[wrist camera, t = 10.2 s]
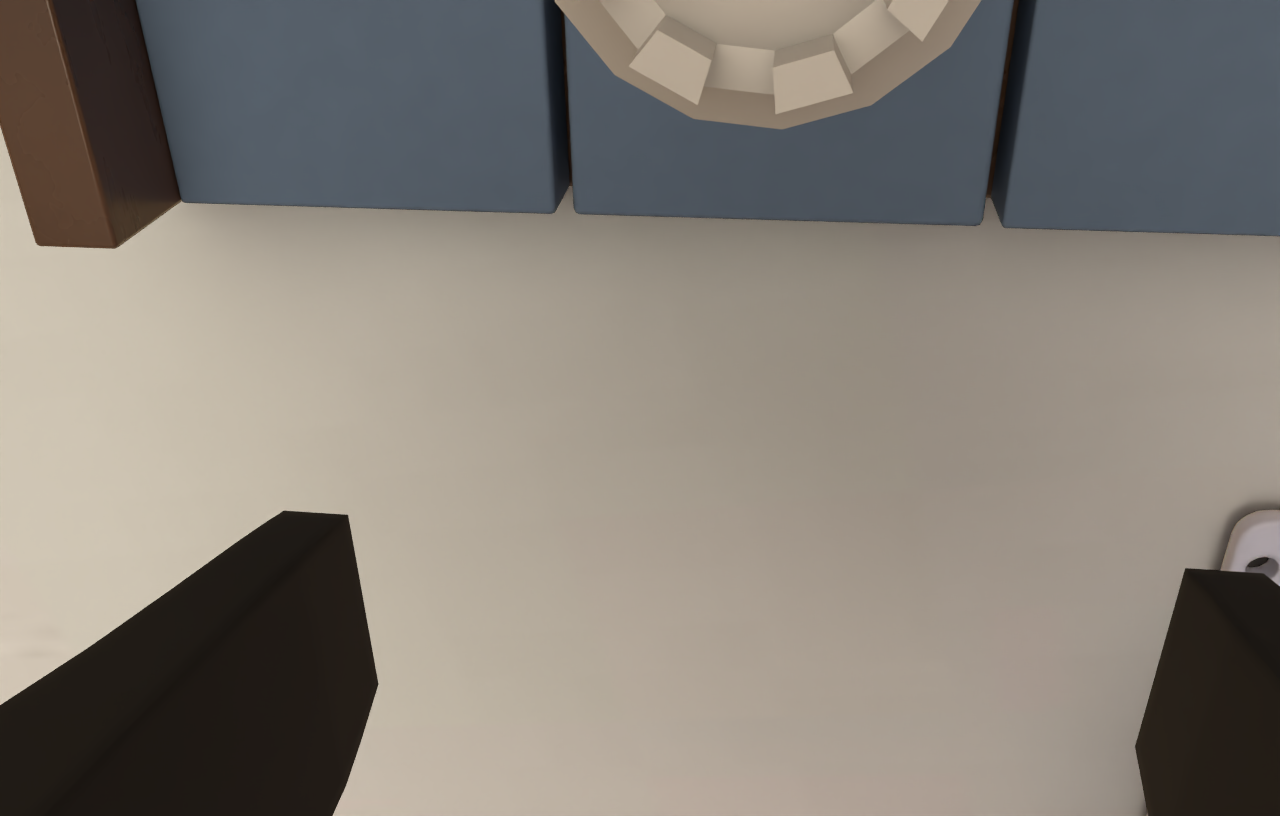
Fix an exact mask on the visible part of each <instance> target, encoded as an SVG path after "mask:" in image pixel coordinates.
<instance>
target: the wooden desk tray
mask: <svg viewBox="0 0 1280 816" xmlns="http://www.w3.org/2000/svg"><path fill="white" fill-rule="evenodd" d="M0 126H1V130H2V133H3V136H4V139H5V143H6V146H7V149H8V153H9V156H10V159H11V163H12V166H13V169H14V172H15V176H16V179H17V182H18V186H19V189H20V192H21V195H22V199H23V202H24V205H25V209H26V212H27V215H28V219H29V222H30V225H31V228H32V232H33V235H34V238H35V242H36V243H37V245H39V246H56V247H84V248H112V249H115V248H117V247H119V246H120V245H122V244H123V243H124V242H126V241H127V240H129V239H130V238H131V237H133V236H134V235H135V234H137V233H138V232H140V231H141V230H142V229H144V228H145V227H146V226H148V225H149V224H151V223H152V222H153V221H155V220H156V219H158V218H159V217H160V216H162V215H163V214H164V213H166V212H167V211H169V210H170V209H171V208H173V207H174V206H175V205H177V204H178V203H180V202H181V201H183V202H185V203H207V204H240V205H274V206H307V207H340V208H374V209H407V210H441V211H474V212H507V213H541V214H552V213H555V211H556V209H557V208H558V206H559V204H560V202H561V200H562V199H563V197H564V195H565V193H566V191H567V189H568V187H569V186H573V204H574V209H575V211H576V213H578V214H589V215H623V216H656V217H690V218H723V219H757V220H790V221H824V222H857V223H891V224H924V225H958V226H977V225H980V223H981V222H982V220H983V215H984V208H985V200H986V197H988V198H991V199H992V201H993V204H994V207H995V209H996V212H997V214H998V217H999V219H1000V222H1001V224H1002V227H1004V228H1023V229H1057V230H1090V231H1123V232H1157V233H1190V234H1223V235H1257V236H1280V0H981V2H980V3H979V5H978V6H977V8H976V9H975V11H974V12H973V14H972V15H971V17H970V18H969V20H968V21H967V23H966V24H965V26H964V27H963V29H962V30H961V32H960V34H959V35H958V37H957V38H956V40H955V41H954V43H953V44H952V46H951V47H950V48H949V49H947V50H946V51H945V52H943V53H942V54H940V55H939V56H938V57H936V58H935V59H934V60H932V61H931V62H930V63H928V64H927V65H925V66H924V67H923V68H921V69H920V70H919V71H917V72H916V73H915V74H913V75H912V76H910V77H909V78H908V79H906V80H905V81H904V82H902V83H901V84H900V85H898V86H897V87H895V88H894V89H893V90H891V91H890V92H889V93H887V94H886V95H885V96H883V97H882V98H881V99H879V100H878V101H876V102H875V103H874V104H872V105H871V106H867V107H863V108H860V109H856V110H852V111H848V112H845V113H841V114H837V115H834V116H830V117H826V118H823V119H819V120H815V121H812V122H808V123H804V124H800V125H797V126H793V127H789V128H786V129H774V128H765V127H757V126H749V125H740V124H732V123H724V122H715V121H707V120H699V119H693V118H691V117H689V116H687V115H685V114H684V113H682V112H680V111H678V110H676V109H675V108H673V107H671V106H669V105H668V104H666V103H664V102H662V101H660V100H659V99H657V98H655V97H653V96H651V95H650V94H648V93H646V92H644V91H642V90H641V89H639V88H637V87H635V86H633V85H632V84H630V83H628V82H626V81H624V80H623V79H621V78H619V77H617V76H615V75H614V74H613V72H612V71H611V70H610V69H609V68H608V66H607V65H606V64H605V63H604V61H603V60H602V59H601V58H600V57H599V55H598V54H597V53H596V52H595V50H594V49H593V48H592V47H591V45H590V44H589V43H588V42H587V41H586V39H585V38H584V37H583V36H582V34H581V33H580V32H579V31H578V30H577V28H576V27H575V26H574V25H573V23H572V22H571V21H570V20H569V19H568V17H567V16H566V15H565V14H564V12H563V11H562V10H561V9H560V7H559V6H558V5H557V4H556V3H555V1H554V0H0Z"/></svg>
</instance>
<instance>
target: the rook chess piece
mask: <svg viewBox="0 0 1280 816" xmlns="http://www.w3.org/2000/svg"><path fill="white" fill-rule="evenodd" d="M554 1H555V3H556V4H557V5H558V6H559V7H560V9H561V10H562V11H563V12H564V14H565V15H566V16H567V17H568V19H569V20H570V21H571V22H572V23H573V25H574V26H575V27H576V28H577V30H578V31H579V32H580V33H581V34H582V36H583V37H584V38H585V39H586V41H587V42H588V43H589V44H590V45H591V47H592V48H593V49H594V50H595V52H596V53H597V54H598V55H599V57H600V58H601V59H602V60H603V61H604V63H605V64H606V65H607V66H608V68H609V69H610V70H611V71H612V72H613V74H614V75H615V76H617V77H619V78H621V79H623V80H624V81H626V82H628V83H630V84H632V85H633V86H635V87H637V88H639V89H641V90H642V91H644V92H646V93H648V94H650V95H651V96H653V97H655V98H657V99H659V100H660V101H662V102H664V103H666V104H668V105H669V106H671V107H673V108H675V109H676V110H678V111H680V112H682V113H684V114H685V115H687V116H689V117H691V118H693V119H699V120H707V121H715V122H724V123H732V124H740V125H749V126H757V127H765V128H774V129H786V128H789V127H793V126H797V125H800V124H804V123H808V122H812V121H815V120H819V119H823V118H826V117H830V116H834V115H837V114H841V113H845V112H848V111H852V110H856V109H860V108H863V107H867V106H871V105H872V104H874V103H875V102H876V101H878V100H879V99H881V98H882V97H883V96H885V95H886V94H887V93H889V92H890V91H891V90H893V89H894V88H895V87H897V86H898V85H900V84H901V83H902V82H904V81H905V80H906V79H908V78H909V77H910V76H912V75H913V74H915V73H916V72H917V71H919V70H920V69H921V68H923V67H924V66H925V65H927V64H928V63H930V62H931V61H932V60H934V59H935V58H936V57H938V56H939V55H940V54H942V53H943V52H945V51H946V50H947V49H949V48H950V47H951V46H952V44H953V43H954V41H955V40H956V38H957V37H958V35H959V34H960V32H961V30H962V29H963V27H964V26H965V24H966V23H967V21H968V20H969V18H970V17H971V15H972V14H973V12H974V11H975V9H976V8H977V6H978V5H979V3H980V2H981V0H554Z"/></svg>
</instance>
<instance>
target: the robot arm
mask: <svg viewBox="0 0 1280 816" xmlns="http://www.w3.org/2000/svg"><path fill="white" fill-rule="evenodd" d="M1262 557H1268V558H1269V560H1268V561H1267V562H1266V563H1264V564H1263V565H1261V566H1259V567H1251V568H1250V567H1247V565H1248V564H1249V563H1250V562H1251V561H1253V560H1255V559H1257V558H1262ZM377 687H378V680H377V674H376V669H375V663H374V657H373V652H372V646H371V641H370V635H369V630H368V624H367V618H366V613H365V607H364V602H363V596H362V590H361V585H360V579H359V574H358V568H357V563H356V557H355V551H354V546H353V540H352V535H351V529H350V524H349V518H348V515H341V514H326V513H310V512H294V511H283V512H281V513H280V514H278V515H277V516H275V517H273V518H272V519H270V520H269V521H267V522H266V523H264V524H263V525H261V526H260V527H258V528H257V529H255V530H254V531H252V532H251V533H249V534H248V535H247V536H245V537H244V538H242V539H241V540H239V541H238V542H237V543H235V544H234V545H232V546H231V547H230V548H228V549H227V550H225V551H224V552H223V553H221V554H220V555H218V556H217V557H216V558H214V559H213V560H211V561H210V562H209V563H207V564H206V565H204V566H203V567H202V568H200V569H199V570H197V571H196V572H195V573H193V574H192V575H191V576H189V577H188V578H186V579H185V580H184V581H182V582H181V583H179V584H178V585H177V586H175V587H174V588H173V589H171V590H170V591H168V592H167V593H165V594H164V595H163V596H161V597H160V598H158V599H157V600H156V601H154V602H153V603H151V604H150V605H148V606H147V607H146V608H144V609H143V610H141V611H140V612H139V613H137V614H136V615H134V616H133V617H131V618H130V619H129V620H127V621H126V622H124V623H123V624H122V625H120V626H119V627H117V628H116V629H114V630H113V631H112V632H110V633H109V634H107V635H106V636H105V637H103V638H102V639H100V640H99V641H97V642H96V643H95V644H93V645H92V646H90V647H89V648H87V649H86V650H84V651H83V652H81V653H80V654H78V655H77V656H75V657H74V658H72V659H71V660H69V661H67V662H66V663H64V664H63V665H61V666H60V667H58V668H57V669H55V670H54V671H52V672H51V673H49V674H47V675H46V676H44V677H43V678H41V679H40V680H38V681H37V682H35V683H34V684H32V685H31V686H29V687H27V688H26V689H24V690H23V691H21V692H20V693H18V694H17V695H15V696H14V697H12V698H11V699H9V700H8V701H6V702H4V703H3V704H1V705H0V816H332V815H333V813H334V811H335V809H336V807H337V804H338V802H339V800H340V798H341V795H342V793H343V791H344V789H345V787H346V784H347V781H348V778H349V775H350V772H351V769H352V766H353V763H354V760H355V757H356V754H357V751H358V748H359V745H360V742H361V739H362V736H363V733H364V729H365V726H366V723H367V720H368V716H369V713H370V710H371V707H372V703H373V700H374V697H375V693H376V690H377ZM1135 748H1136V753H1137V759H1138V764H1139V769H1140V775H1141V780H1142V785H1143V791H1144V796H1145V801H1146V807H1147V814H1146V816H1280V510H1260V511H1256V512H1253V513H1251V514H1248V515H1246V516H1245V517H1243V518H1242V519H1241V520H1240V521H1239V522H1237V524H1236V525H1235V527H1234V529H1233V531H1232V533H1231V536H1230V539H1229V543H1228V546H1227V549H1226V553H1225V556H1224V559H1223V563H1222V566H1221V569H1220V571H1219V570H1204V569H1188V568H1185V572H1184V575H1183V579H1182V582H1181V586H1180V589H1179V593H1178V596H1177V600H1176V603H1175V607H1174V611H1173V614H1172V618H1171V621H1170V625H1169V628H1168V632H1167V635H1166V639H1165V642H1164V646H1163V650H1162V653H1161V657H1160V660H1159V664H1158V667H1157V671H1156V674H1155V678H1154V681H1153V685H1152V689H1151V692H1150V696H1149V699H1148V703H1147V706H1146V710H1145V713H1144V717H1143V720H1142V724H1141V728H1140V731H1139V735H1138V738H1137V742H1136V745H1135Z"/></svg>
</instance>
